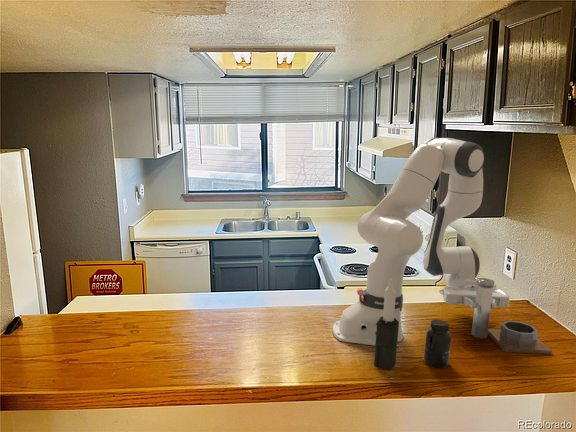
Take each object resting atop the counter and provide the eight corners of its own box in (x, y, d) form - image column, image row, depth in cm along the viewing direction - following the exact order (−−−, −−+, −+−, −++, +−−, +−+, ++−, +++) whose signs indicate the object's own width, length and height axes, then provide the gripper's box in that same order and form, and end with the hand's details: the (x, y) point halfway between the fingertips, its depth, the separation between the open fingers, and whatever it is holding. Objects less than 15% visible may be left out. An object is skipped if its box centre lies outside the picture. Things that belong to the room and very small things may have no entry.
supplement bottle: (450, 369, 125) (454, 329, 123) (424, 366, 126) (428, 326, 124) (446, 358, 131) (450, 319, 129) (422, 355, 133) (426, 316, 130)
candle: (396, 363, 127) (403, 278, 123) (390, 371, 123) (397, 283, 118) (379, 358, 130) (385, 274, 125) (372, 365, 125) (379, 279, 121)
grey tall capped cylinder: (474, 338, 141) (480, 282, 138) (468, 331, 146) (474, 277, 143) (490, 338, 141) (497, 283, 138) (484, 332, 146) (490, 278, 143)
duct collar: (504, 351, 137) (506, 335, 136) (486, 332, 150) (488, 317, 150) (551, 354, 136) (554, 338, 135) (529, 334, 150) (531, 319, 149)
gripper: (438, 280, 154) (451, 294, 141) (499, 283, 153) (518, 298, 140) (436, 298, 155) (449, 313, 142) (497, 301, 155) (515, 317, 141)
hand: (484, 306), depth 141 cm, fingers closed on grey tall capped cylinder, 5 cm apart
